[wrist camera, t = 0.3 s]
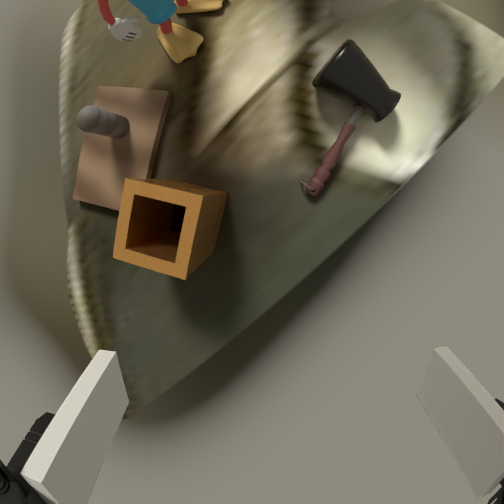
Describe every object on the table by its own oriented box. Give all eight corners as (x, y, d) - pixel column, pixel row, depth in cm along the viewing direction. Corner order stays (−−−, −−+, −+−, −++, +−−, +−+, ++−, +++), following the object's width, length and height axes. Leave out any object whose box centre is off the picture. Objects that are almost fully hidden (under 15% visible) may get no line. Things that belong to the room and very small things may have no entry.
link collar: (171, 179, 37) (125, 178, 25) (228, 192, 36) (203, 195, 25) (159, 236, 38) (112, 257, 27) (214, 251, 38) (185, 280, 26)
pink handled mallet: (339, 45, 31) (391, 88, 32) (257, 153, 37) (312, 192, 39) (355, 30, 24) (417, 82, 26) (255, 159, 30) (322, 207, 32)
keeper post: (103, 88, 35) (61, 69, 25) (172, 94, 34) (139, 69, 25) (78, 198, 38) (32, 204, 29) (143, 214, 38) (102, 224, 28)
